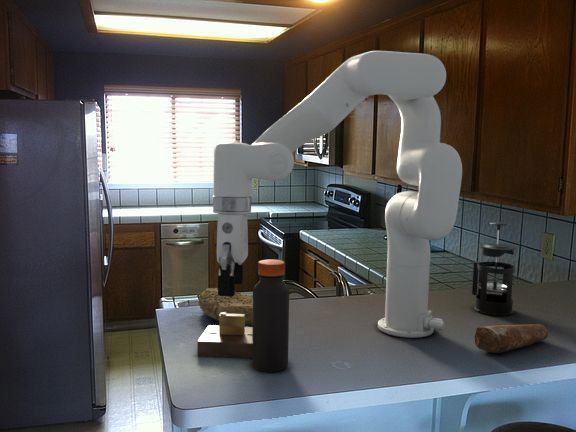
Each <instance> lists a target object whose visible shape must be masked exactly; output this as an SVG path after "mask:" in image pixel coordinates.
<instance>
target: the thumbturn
mask: <svg viewBox="0 0 576 432" xmlns="http://www.w3.org/2000/svg"><path fill="white" fill-rule="evenodd" d="M218 323H219V325H218V326H219V334H222V335H244V333H245V327H246V325H245V314H226V312H222V313H221V314H220V315H219V321H218Z"/></svg>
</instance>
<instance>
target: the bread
mask: <svg viewBox="0 0 576 432" xmlns="http://www.w3.org/2000/svg"><path fill="white" fill-rule="evenodd" d="M475 331H476V332H475V334H474V343H475V346H476V347H477V348H478V349H480V350H481V351H484V352H487V353H493V354H501V353H505V352H509V351H513V350H517V349H520V348H523V347H528V346H530V345H533V344H536V343H539V342H541V341H544V340H546V339H547V338H548V337H549V331H548V329H547V327H546V326H545V325H543V324H540V323H529V324H527V323H526V324H501V325H499V324H498V325H487V326H479V327H476V330H475Z"/></svg>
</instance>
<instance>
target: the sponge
mask: <svg viewBox="0 0 576 432" xmlns="http://www.w3.org/2000/svg"><path fill="white" fill-rule="evenodd" d="M198 306H199V308H200V310H201V311H202V312H203V313H205V315H206V316H207V317H209V318H211V319H213V320H216V321H218V322H219V315H220V314H221V313H222V312H226V314H245V326H253V297H252V296H249V295H247V294H245V293H242V292H238V291H235V295H234V296H219V295H218V287H210V288H205V290H203V291H202V292H201V293H200V294H199V296H198Z"/></svg>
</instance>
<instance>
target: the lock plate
mask: <svg viewBox="0 0 576 432" xmlns="http://www.w3.org/2000/svg"><path fill="white" fill-rule="evenodd" d="M252 335H253V326H245V333H244V335H222V334H219V325H216V324H215V325H214V324H213V325H211V324H208V325H207V327H206V328H205V330H204V331H203V332H202V334H201V335H200V337H199V338H198V340H197V356H198V357H214V358H215V357H216V358H217V357H218V358H222V357H223V358H240V359H241V358H242V359H252Z"/></svg>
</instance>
